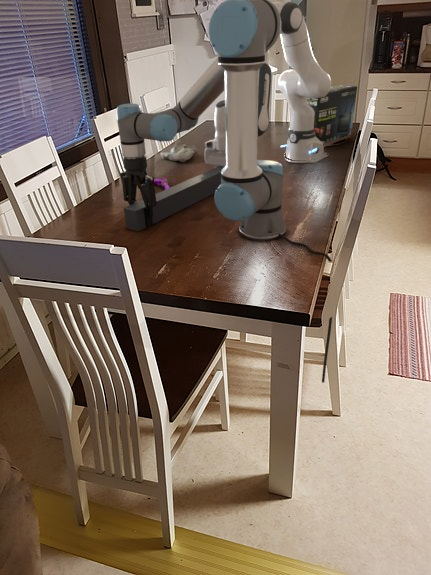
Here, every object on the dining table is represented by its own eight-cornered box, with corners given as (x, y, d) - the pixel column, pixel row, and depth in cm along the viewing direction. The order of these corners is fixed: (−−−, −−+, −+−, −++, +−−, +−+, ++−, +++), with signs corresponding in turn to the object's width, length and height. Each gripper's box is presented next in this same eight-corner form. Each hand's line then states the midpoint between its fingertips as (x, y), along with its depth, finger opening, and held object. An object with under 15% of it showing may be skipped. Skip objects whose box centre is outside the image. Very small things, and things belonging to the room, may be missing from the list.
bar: (138, 231, 154) (135, 211, 150) (126, 227, 157) (123, 207, 153) (239, 180, 196) (239, 164, 192) (228, 178, 198) (228, 162, 195)
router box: (314, 151, 231) (318, 94, 217) (296, 148, 237) (299, 92, 224) (352, 138, 251) (358, 85, 238) (335, 135, 258) (340, 83, 245)
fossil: (184, 156, 217) (163, 136, 220) (174, 174, 223) (154, 154, 227) (205, 153, 231) (186, 134, 234) (195, 171, 237) (176, 152, 240)
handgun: (149, 183, 197) (148, 178, 196) (167, 181, 198) (166, 176, 197) (152, 198, 180) (152, 194, 179) (172, 196, 181) (171, 191, 180)
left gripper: (163, 156, 144) (170, 225, 156) (122, 149, 154) (131, 214, 166) (147, 162, 139) (155, 232, 151) (105, 155, 149) (116, 221, 161)
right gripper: (251, 145, 182) (251, 179, 189) (210, 139, 192) (211, 171, 199) (243, 148, 177) (243, 183, 184) (201, 142, 188) (203, 175, 195)
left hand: (142, 223), depth 159 cm, fingers closed on bar, 6 cm apart
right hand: (226, 177), depth 192 cm, fingers closed on bar, 6 cm apart
